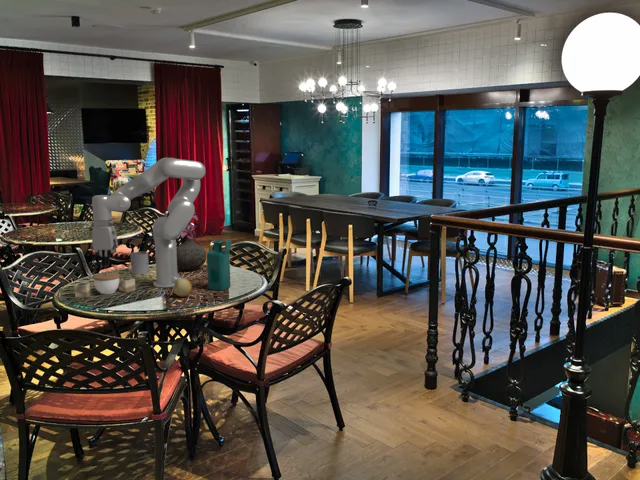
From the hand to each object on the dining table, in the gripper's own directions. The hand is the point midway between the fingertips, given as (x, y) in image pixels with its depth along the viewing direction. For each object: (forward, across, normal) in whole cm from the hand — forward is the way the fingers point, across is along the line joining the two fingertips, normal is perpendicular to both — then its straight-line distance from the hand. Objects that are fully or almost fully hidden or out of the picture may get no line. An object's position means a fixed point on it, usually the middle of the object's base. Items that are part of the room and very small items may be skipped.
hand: (106, 265), depth 255 cm
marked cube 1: (+12, +7, +7) cm, 16 cm away
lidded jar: (+12, 0, 0) cm, 13 cm away
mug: (+13, +10, -42) cm, 45 cm away
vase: (+13, -12, -53) cm, 56 cm away
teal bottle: (+13, -45, -20) cm, 51 cm away
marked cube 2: (+12, -6, -6) cm, 15 cm away
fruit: (+13, -36, -2) cm, 38 cm away
